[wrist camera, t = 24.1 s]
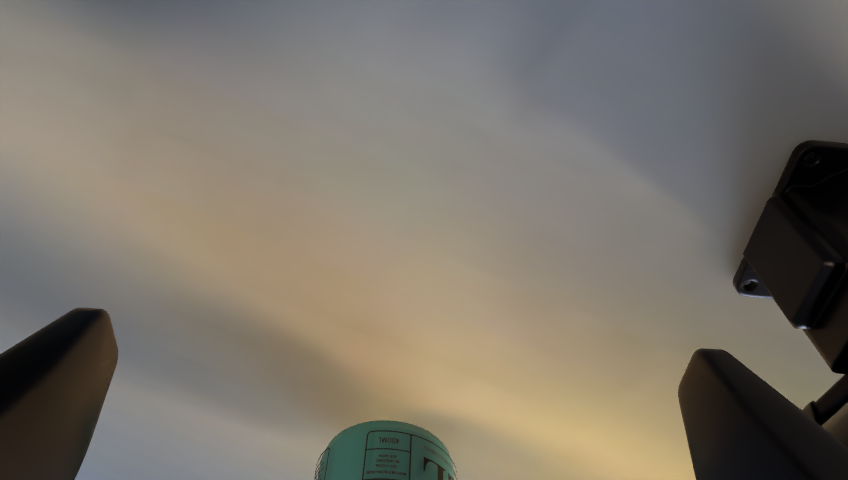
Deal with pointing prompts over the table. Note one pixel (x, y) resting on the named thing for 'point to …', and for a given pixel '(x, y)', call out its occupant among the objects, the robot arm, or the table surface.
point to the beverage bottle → (385, 454)
